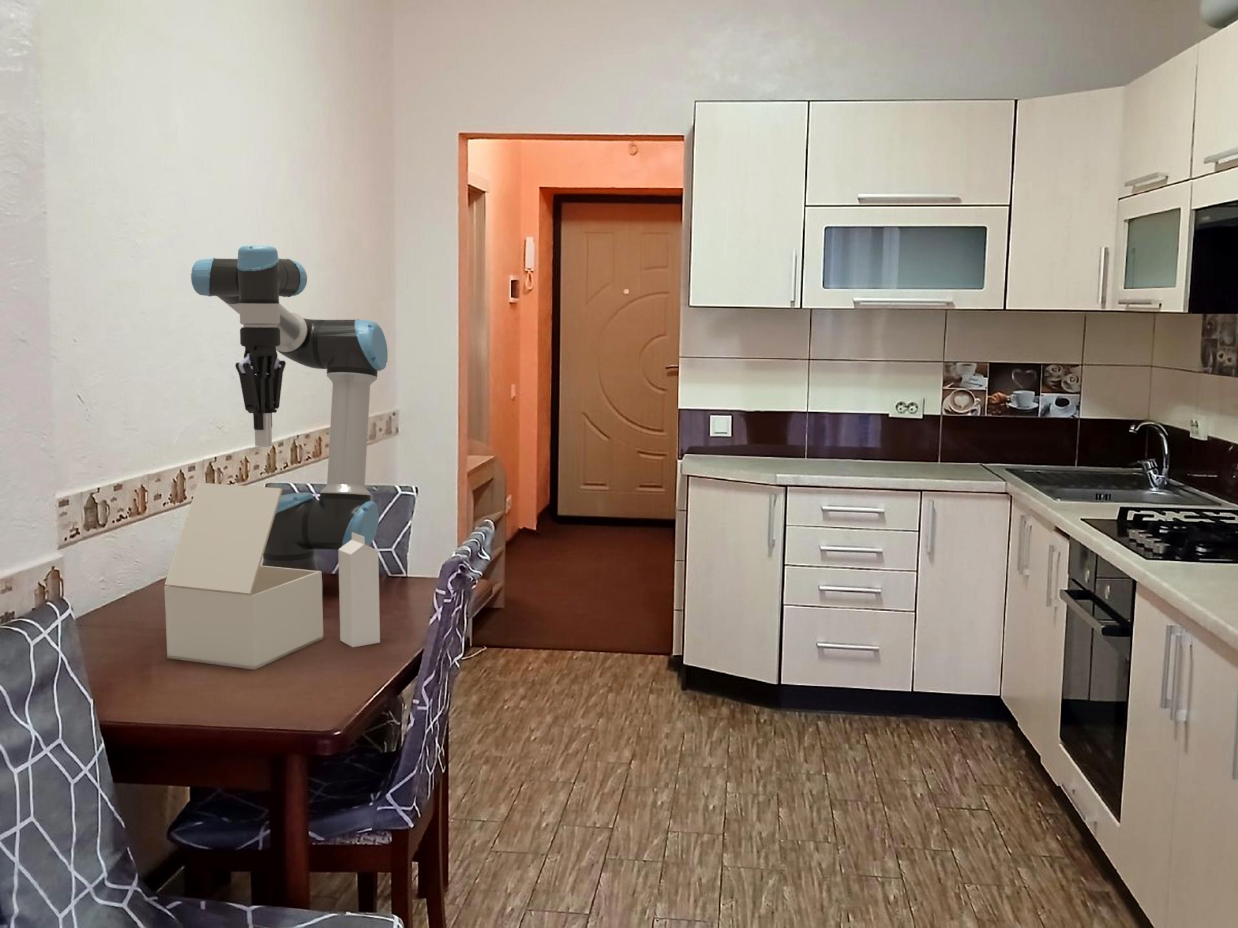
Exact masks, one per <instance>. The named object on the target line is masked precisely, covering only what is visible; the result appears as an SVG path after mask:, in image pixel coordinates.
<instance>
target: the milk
mask: <svg viewBox="0 0 1238 928" xmlns="http://www.w3.org/2000/svg"><path fill="white" fill-rule="evenodd" d="M337 553H338V555H337V557H338V592H339V593H338V595H339V596H338V597H339V598H338V599H339V638H340V639H339V640H340V641H341V642H343V643H344V644H345V645H348V646H349V647H351V648H357V647H364V646H367V645H369V646H370V645H373V644H379V643H381V628H380V627H381V626H380V625H381V624H380V620H381V619H380V576H379V575H380V574H379V573H380V571H379V570H380V567H379V561H380V560H379V550H377V549H376V548H374V547H371V546H367V545H365V538H364V536H361V535H358V534H356V533H353V532H352V540H350V541H349V542H348V543H346V544H345V545H344V546H342V547H341V548H340V549H338V551H337Z"/></svg>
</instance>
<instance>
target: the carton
mask: <svg viewBox="0 0 1238 928" xmlns="http://www.w3.org/2000/svg"><path fill="white" fill-rule="evenodd" d="M322 575H323V574H322V571H321V570H319V571H313V570H302V569H292V568H282V567H271V566H262V564H260V567H259V570H258V574H257V577H256V580H255V584H254V587H253V590H252V594H244V593H235V592H226V591H216V590H207V589H198V588H188V587H179V586H170V585H164V606H165V609H164V610H165V633H166V652H167V653H166V656H167V659H170V660H171V659H172V660H178V661H179V660H180V661H187V662H192V663H193V662H194V663H199V664H200V663H201V664H202V663H203V664H208V665H216V666H224V667H233V668H240V669H245V670H254V671H256V670H258V669H260V668H262V667H264V666H267V665H269V664H272V663H273V662H275V661H278V660H280V659H282V658H285V657H287V656H288V655H291V654H294V653H296V652H297V651H300V650H302V649H304V648H306V647H309V646H310V645H311V646H312V645H313V644H315V643H317V642H319V641H322V640H324V620H323V619H324V617H323V616H324V615H323V613H324V612H323V590H322V581H323V579H322V578H323V577H322Z"/></svg>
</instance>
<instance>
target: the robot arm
mask: <svg viewBox="0 0 1238 928" xmlns="http://www.w3.org/2000/svg"><path fill="white" fill-rule="evenodd" d="M190 281H191V285H192V288H193V290H194V291H195V293H197V294H198V295H200V296H206V297H217V298H218V299H219V300H221V301H222V302H224V303H225V304H226V305H227V306H228V307H230V309H232V310H234V312H236V313H237V314H239V323H240V325H243V326H242V327H240V329H239V339H240V341H239V344H240V345H241V346H242V347H244V353H243V359H242V360H241V362H235V365H234V366H235V369H236V371H237V373H238V377H239V381H240V388H241V392H242V399H243V404H244V409H245V411H247V412H248V414H252V417H253V430H254V440H255V441H254V445H255V446H254V447H262V448H264V447H265V448H267V447H272V446H273V433H272V429H273V413H274V414H275V413H277V412H278V409H279V408H280V403H281V402H280V400H281V394H282V393H281V392H282V385H283V384H282V383H283V376H284V375H283V374H284V370H285V368H286V365H287V363H286V361H285V360H280V358H278V353H279V354H280V355H282V356H284V357H286V358H287V359H289V360H292V361H293V362H295V363H297V364H299V365H302V366H304V367H307V368H311V369H318V370H326V377H327V378H328V379H329V380H330V381H331V383H332V389H331V390H332V393H331V408H330V409H331V410H330V423H329V424H330V426H329V429H330V430H329V446H328V464H327V479H326V486H325V487H323V488H322V489H321V490H320V491H319V499H314V498H315V497H314V495H313V493H312V492H304V491H303V492H296V493H295V492H293V493H287V494H283V495H282V494H281V497H280V501H279V504H278V507H277V511H276V514H275V517H274V521H273V524H272V527H271V531H270V534H269V537H268V541H267V544H266V547H265V551H264V554H263V557H262V562H261V563H262V564H261V566H271V567H282V568H292V569H302V570H313V571H320V570H319V567H318V565H317V562H316V558H315V550H318V551H334V552H336V551H337V552H338V549H340V548H341V547H342V546H344V545H345V544H346V543H348V542H349V541H350V540H352V532H353V533H356V534H358V535H361V536H364V538H365V545H367V546H369V547H371V546H370V545H371V544H372V543H373V541H374V539H375V537H376V535H377V531H378V527H379V522H380V513H379V507H378V505H377V503H376V502H374V501H373V500H371V497H372V494H371V493H370V492H369V490H368V489H367V488H366V486H365V485H366V469H367V451H368V432H369V415H370V414H369V412H370V399H371V397H370V395H371V385H373V383H375V382H376V381H377V380H378V372H381V371H383V370H384V369H385V368H386V367H387V363H388V357H389V355H388V351H389V350H388V345H387V344H388V343H387V339H386V336H385V334H384V331H383V329H382V328H381V326H380V325H379V324H378V323H377V322H375V321H373V320H368V319H367V320H365V319H359V318H357V319H312V318H311V319H310V318H304V317H303V316H301V315H300V314H297V313H295V312H290V311H289V310H288V309H287V308H286V307H284V306H283V305H282V304H281V303H280V297H283V298H290V297H295V296H298V295H300V294H301V293H302V292H303V291H304V290H305V288H306V286H307V283H308V275H307V271H306V269H305V267H304V266H303V265H302V264H301V263H299V262H298V261H296V260H294V259H293V260H292V259H290V258H279V255H278V250H277V248H276V247H274V246H269V245H266V246H265V245H243V246H240V247H239V248H238V250H237V258H216V257H212V258H203V259H198V260H196V261H195V262H194V263H193V266H192V269H191V274H190ZM323 590H324V583H323V580H322V591H323Z"/></svg>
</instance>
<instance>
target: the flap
mask: <svg viewBox="0 0 1238 928" xmlns="http://www.w3.org/2000/svg"><path fill="white" fill-rule="evenodd" d="M283 491H284V490H283V488H281V487H280V488H279V487H269V486H268V487H267V486H253V485H240V484H239V485H238V484H227V483H226V484H224V483H212V482H211V483H209V482H197V485H196V488H195V491H194V494H193V497H192V500H191V504H190V507H189V509H188V512H187V516H186V517H185V521H184V524H183V527H182V531H181V533H180V536H179V539H178V543H177V546H176V548H175V551H174V555H173V557H172V561H171V564H170V567H169V570H168V574H167V576H166V578H165V582H164V586H168V585H170V586H179V587H188V588H198V589H207V590H216V591H226V592H235V593H244V594H252V590H253V587H254V584H255V580H256V577H257V574H258V570H259V567H260V565H262V564H261V563H262V561H263V554H264V551H265V547H266V544H267V541H268V537H269V534H270V531H271V527H272V524H273V521H274V517H275V514H276V511H277V507H278V504H279V501H280V497H281V495H282V494H283Z"/></svg>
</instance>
